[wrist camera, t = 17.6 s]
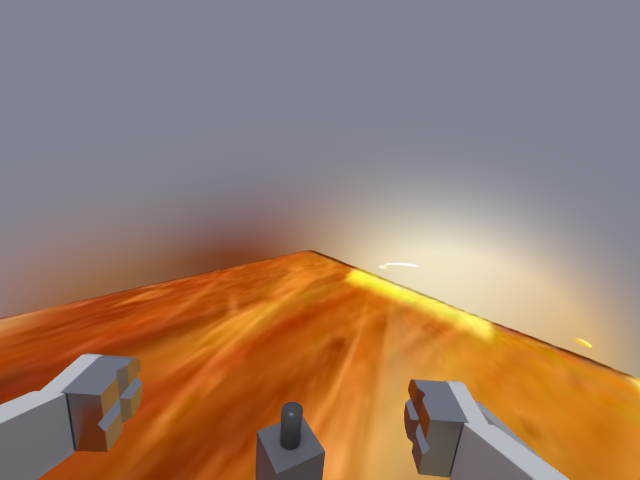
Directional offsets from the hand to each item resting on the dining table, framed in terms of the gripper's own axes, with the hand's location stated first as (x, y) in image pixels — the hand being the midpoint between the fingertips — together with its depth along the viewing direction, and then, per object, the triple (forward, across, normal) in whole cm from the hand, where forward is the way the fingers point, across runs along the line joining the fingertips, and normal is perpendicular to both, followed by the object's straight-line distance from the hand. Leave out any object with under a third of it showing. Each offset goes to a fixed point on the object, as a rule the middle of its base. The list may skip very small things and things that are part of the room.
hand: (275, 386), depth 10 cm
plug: (+12, 0, +27) cm, 30 cm away
